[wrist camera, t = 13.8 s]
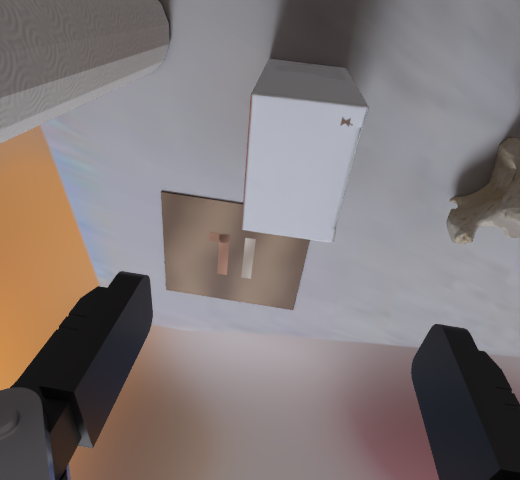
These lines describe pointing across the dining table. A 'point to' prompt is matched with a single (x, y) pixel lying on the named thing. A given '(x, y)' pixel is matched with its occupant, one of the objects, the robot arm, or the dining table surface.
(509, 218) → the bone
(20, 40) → the paper towel roll
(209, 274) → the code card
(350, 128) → the small box
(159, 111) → the dining table surface
